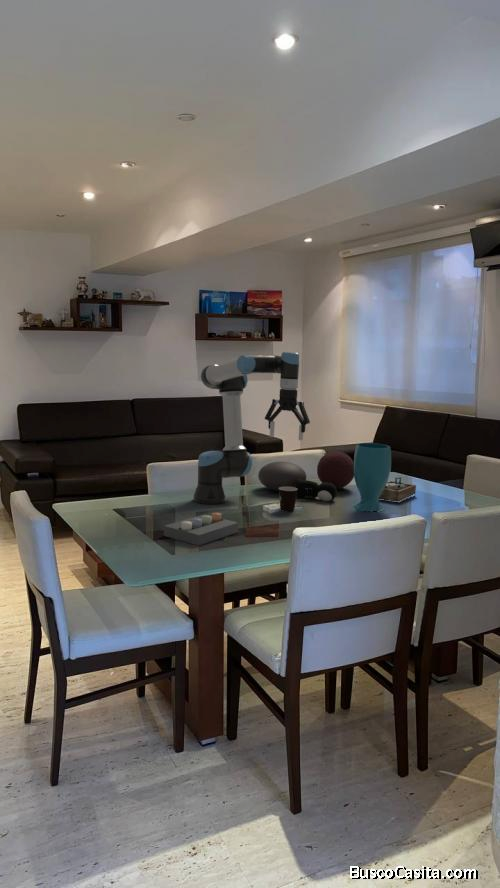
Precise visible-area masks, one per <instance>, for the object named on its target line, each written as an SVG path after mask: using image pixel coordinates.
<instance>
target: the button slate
mask: <svg viewBox="0 0 500 888" xmlns="http://www.w3.org/2000/svg"><path fill="white" fill-rule="evenodd" d="M192 518H193V517H192ZM192 527H195V528H200V527H202V519H200V518H193V519H192Z"/></svg>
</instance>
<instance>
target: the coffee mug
mask: <svg viewBox="0 0 500 888" xmlns="http://www.w3.org/2000/svg"><path fill="white" fill-rule="evenodd" d="M297 490H298V489H297V488H294V487H280V488H279V491H278V498H279V499H278V500H279V510H280V509H281V510H284V511H292V512H294V511H295V509H296V508H295V506H296V502H297V497H296V496H297ZM281 510H280V511H281ZM284 511H283V512H284Z"/></svg>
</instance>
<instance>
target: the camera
mask: <svg viewBox="0 0 500 888" xmlns="http://www.w3.org/2000/svg"><path fill="white" fill-rule="evenodd" d="M394 478H395V479H394V482H395V483H389V484H386V486H385V488H384V489H390V490H396V491H399V490H402V489H404V488H407V484H408V483H407V484H405V482H402V478H403V477H402V476H399V477H398V476H397V477H394ZM398 479H399V481H398Z"/></svg>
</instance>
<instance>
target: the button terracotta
mask: <svg viewBox="0 0 500 888" xmlns="http://www.w3.org/2000/svg"><path fill="white" fill-rule="evenodd" d="M210 516H212V521H214V522H219V521H221V519H222V513H221V512H212V513H211V515H210Z"/></svg>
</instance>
